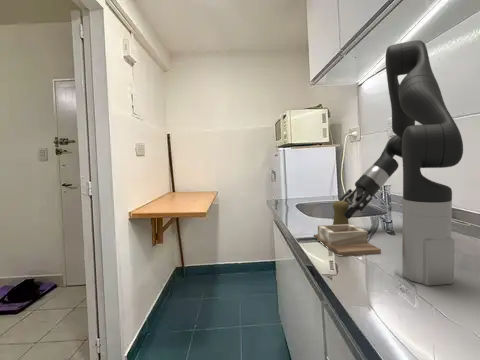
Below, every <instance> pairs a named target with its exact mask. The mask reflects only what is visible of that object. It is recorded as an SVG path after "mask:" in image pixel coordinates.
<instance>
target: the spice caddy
mask: <svg viewBox="0 0 480 360" xmlns="http://www.w3.org/2000/svg"><path fill="white" fill-rule="evenodd" d="M314 237H315V238H317V239H318V240H319V241H321V242H322V243H323V244H324V245H325V246H327V247H328V248H329V249H330V250H329V249H328V248H327V247H326V248H327V249H328V250H329V251H331V250H332V251H333V252H332V251H331V252H332V253H333V254H335V253H336V254H338V255H343V256H342V257H350V256H351V257H352V256H364V255H365V256H366V255H367V256H368V255H379V254H382V249H381V248H379V247H378V246H375V245H374V244H371V243H369V242H368V231H367V230H365V229H363V228H360V227H359V226H356V225H354V224H351V223H349V224H340V225H333V224H324V225H317V234H313V238H314ZM324 245H323V246H324ZM325 246H324V247H325ZM336 254H335V255H336ZM338 255H337V256H338Z"/></svg>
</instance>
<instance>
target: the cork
mask: <svg viewBox="0 0 480 360" xmlns="http://www.w3.org/2000/svg"><path fill="white" fill-rule="evenodd" d="M332 208H333V211H334V210H335V212H334V215H333V220H332V221H333V222H332V225H340V224H350V222H349V219H347V218H346V217H345V216H344V214H345V212H346V211H347V210H348V209H349V208H350V205H348V202H345V201H339V200H337V201H334V203H333V205H332Z"/></svg>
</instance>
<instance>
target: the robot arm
mask: <svg viewBox="0 0 480 360" xmlns="http://www.w3.org/2000/svg"><path fill="white" fill-rule="evenodd" d="M385 70H386V71H385V72H386V73H385V74H386V81H387V87H388V88H387V89H388V95H389V101H390V107H391V130H392V132H393V134H395V135H394V136H392V137H390V138H389V139H388V141H387V142H386V145H385V147H384V149H383V150H382V152H381V154H380V156H379V158H377V160H376V161H374V163H373V164H372V165H371V166H370V167H369V168H368V169H366V170H365V172H364V173H362V175H361V176H360V177H359V178H358V179H357V180H356V181H355V183H354V186H355V189H354V190H352V189H351V188H350V189H348V190H346V192H345V193H344V194H343V195H342V197H340V198H339V200H338V201H345V202H347V203H348V205H349V208H348V210H347V211H346V212H345V214H344V216H345V217H346V218H347V219H348V220H349V219H350V218H352V216H353V215H354V214H355V213H356V212H358V211H360V212H362V211H363V210H364V209H365V208H366V207H367V206H368V205H369V203H370V202H371V201H372V200H373V197H374V196H375V195H376V193H378V192H379V191H380V189H382V187H383V186H384V185H385V184H386V182H387V181H389V180H388V179H390V178H391V177H392V175H393V174H394V173H395V172H396V171H397V170H398V168H399V162H398V161H397V160H396V159H395V158H394V157H395V156H397V157H399V158H402V234H401V236H402V237H401V238H402V240H401V241H402V243H401V245H402V247H401V248H402V251H401V253H402V256H401V258H402V259H401V260H402V261H401V263H402V264H401V275H402V276H403V277H404V278H406V279H407V280H409V281H412V282H415V283H419V284H423V285H425V286H440V285H451V284H453V285H454V283H455V282H454V279H455V278H454V277H455V239H454V238H453V237H452V213H453V211H452V210H453V209H452V208H453V191H452V188H451V187H450V186H448V185H445V184H442V183H439V182H436V181H433V180H431V179H429V178H427V177H425V176H424V175H423V174H422V172H421V169H442V168H443V169H444V168H451V167H454V166H456V165H457V164H459V163H460V161H461V160H462V158H463V154H464V143H463V138H462V134H461V132H460V128H459V127H458V125H457V123H456V122H455V119H454V118H453V117H452V115H451V113H450V112H449V110H448V108H447V106H446V104H445V101H444V98H443V94H442V92H441V91H442V90H441V88H440V86H439V84H438V81H437V79H436V77H435V74H434V72H433V69H432V66H431V62H430V57H429V52H428V49H427V45H426V43H425V42H424V41H422V40H420V39H419V40H417V39H415V40H410V41H405V42H400V43H395V44H391V45H389V46H388V47H387V49H386V52H385ZM403 75H405V76H404V77H403V79H402V80H401V82H400V83H399V78H398V77H399V76H403ZM416 122H417V123H419V124H416ZM333 212H334V213H335V210H334V209H333Z"/></svg>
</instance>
